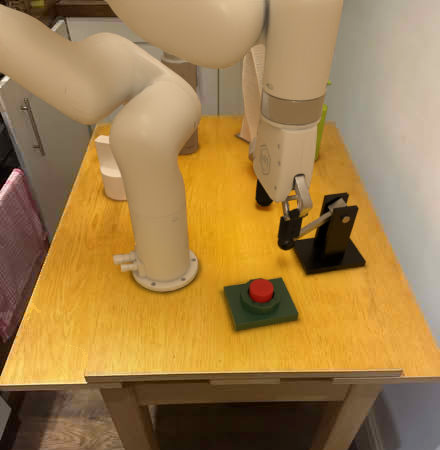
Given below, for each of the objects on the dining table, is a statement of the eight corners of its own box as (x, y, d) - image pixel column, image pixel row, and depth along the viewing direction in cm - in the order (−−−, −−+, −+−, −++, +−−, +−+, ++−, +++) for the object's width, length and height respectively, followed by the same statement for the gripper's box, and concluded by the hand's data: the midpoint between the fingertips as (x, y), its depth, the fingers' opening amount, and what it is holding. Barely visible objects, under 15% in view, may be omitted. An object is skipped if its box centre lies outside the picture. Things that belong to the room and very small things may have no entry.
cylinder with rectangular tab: (97, 195, 95) (85, 147, 86) (116, 176, 100) (107, 128, 92) (132, 203, 93) (124, 154, 84) (149, 182, 99) (143, 135, 90)
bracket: (306, 275, 78) (319, 221, 68) (290, 245, 83) (300, 191, 74) (364, 266, 79) (384, 212, 70) (345, 237, 85) (361, 183, 76)
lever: (284, 256, 77) (277, 247, 74) (279, 245, 79) (272, 236, 77) (352, 216, 73) (347, 205, 71) (345, 206, 75) (339, 194, 73)
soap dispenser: (302, 165, 104) (316, 83, 90) (291, 152, 109) (303, 72, 94) (323, 162, 106) (340, 80, 91) (312, 149, 110) (326, 69, 95)
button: (252, 304, 68) (253, 297, 67) (246, 287, 71) (247, 280, 70) (275, 300, 69) (276, 293, 68) (268, 284, 72) (269, 277, 70)
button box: (235, 331, 68) (236, 318, 66) (223, 292, 74) (223, 279, 72) (297, 320, 70) (300, 306, 68) (280, 283, 76) (283, 269, 73)
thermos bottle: (172, 156, 107) (162, 34, 86) (166, 142, 112) (155, 24, 91) (201, 152, 109) (198, 31, 88) (194, 138, 114) (189, 21, 93)
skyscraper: (274, 139, 114) (287, 22, 93) (253, 148, 110) (262, 29, 90) (253, 128, 118) (261, 14, 97) (232, 137, 115) (236, 21, 94)
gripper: (240, 80, 54) (235, 190, 67) (290, 141, 43) (273, 260, 56) (292, 75, 56) (278, 184, 68) (354, 133, 45) (323, 250, 57)
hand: (275, 218), depth 62 cm, fingers open, 9 cm apart
